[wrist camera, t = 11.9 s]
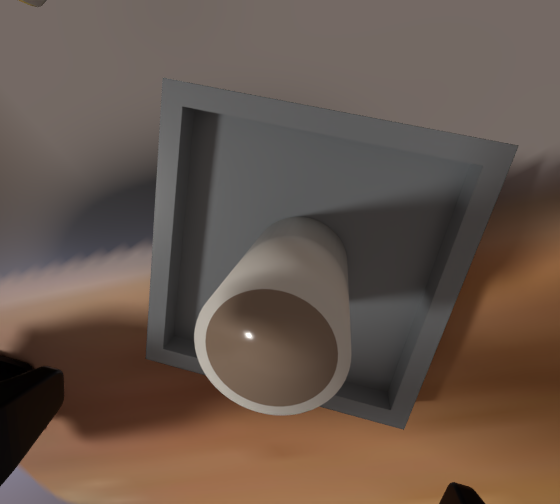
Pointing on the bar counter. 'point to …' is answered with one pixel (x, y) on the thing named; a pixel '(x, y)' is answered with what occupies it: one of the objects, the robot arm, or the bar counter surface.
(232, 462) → the bar counter surface
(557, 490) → the bar counter surface
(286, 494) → the bar counter surface
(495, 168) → the tray
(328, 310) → the ceramic cup
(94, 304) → the bar counter surface
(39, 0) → the medicine bottle
